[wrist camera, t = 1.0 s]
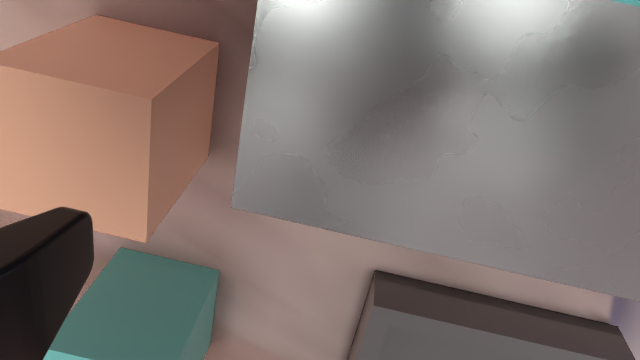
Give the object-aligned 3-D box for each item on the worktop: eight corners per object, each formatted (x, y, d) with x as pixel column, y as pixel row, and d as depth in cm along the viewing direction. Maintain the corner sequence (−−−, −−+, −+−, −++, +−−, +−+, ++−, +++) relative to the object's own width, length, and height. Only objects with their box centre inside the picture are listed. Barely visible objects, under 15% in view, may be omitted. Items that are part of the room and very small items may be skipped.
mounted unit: (562, 155, 19) (699, 358, 10) (290, 94, 19) (210, 245, 11) (652, -36, 16) (949, 35, 7) (325, -109, 16) (252, -119, 7)
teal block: (210, 342, 25) (163, 457, 20) (120, 321, 25) (49, 430, 20) (219, 269, 23) (169, 377, 18) (121, 247, 23) (42, 347, 18)
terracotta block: (208, 155, 21) (145, 243, 15) (97, 129, 21) (-3, 208, 15) (219, 42, 18) (151, 99, 13) (95, 14, 18) (-22, 60, 13)
